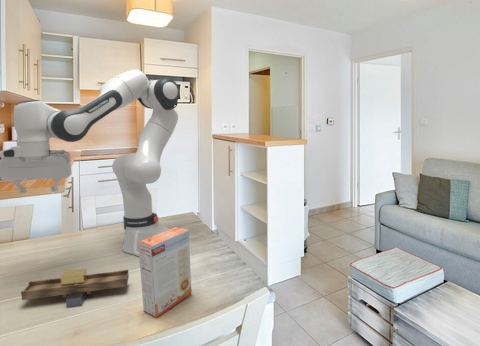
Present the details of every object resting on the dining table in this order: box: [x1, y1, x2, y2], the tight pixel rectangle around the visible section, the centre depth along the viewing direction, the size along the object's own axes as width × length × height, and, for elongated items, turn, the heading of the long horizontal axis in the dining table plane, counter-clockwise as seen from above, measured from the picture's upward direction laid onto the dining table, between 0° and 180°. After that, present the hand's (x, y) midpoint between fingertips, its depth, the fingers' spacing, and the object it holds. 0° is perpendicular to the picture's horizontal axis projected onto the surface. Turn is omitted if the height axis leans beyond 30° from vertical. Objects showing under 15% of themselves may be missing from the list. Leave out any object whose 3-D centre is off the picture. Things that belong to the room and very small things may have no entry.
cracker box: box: [138, 226, 192, 319], centre depth 87 cm, size 14×6×21 cm, turn 145°
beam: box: [20, 269, 130, 301], centre depth 92 cm, size 28×6×4 cm, turn 105°
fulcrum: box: [65, 292, 87, 308], centre depth 92 cm, size 4×12×2 cm, turn 15°
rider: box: [60, 267, 88, 286], centre depth 91 cm, size 6×4×4 cm, turn 104°
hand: (38, 192), depth 101 cm, fingers open, 8 cm apart
